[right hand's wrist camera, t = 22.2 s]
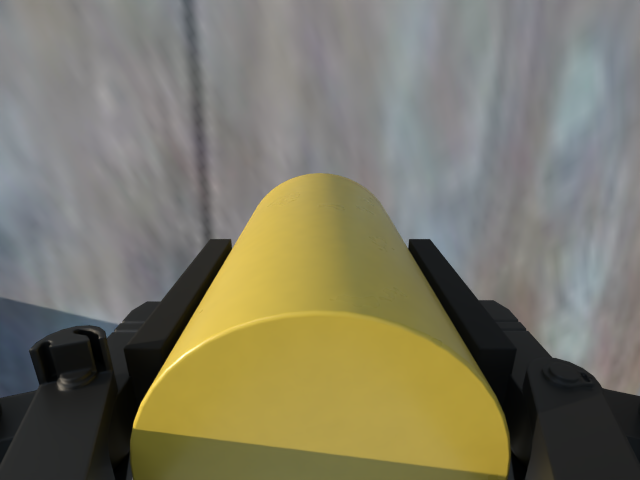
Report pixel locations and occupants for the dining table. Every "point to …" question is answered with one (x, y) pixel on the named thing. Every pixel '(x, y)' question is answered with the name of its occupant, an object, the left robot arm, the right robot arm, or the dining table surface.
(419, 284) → the tin
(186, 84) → the dining table surface
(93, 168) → the dining table surface
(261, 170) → the dining table surface
